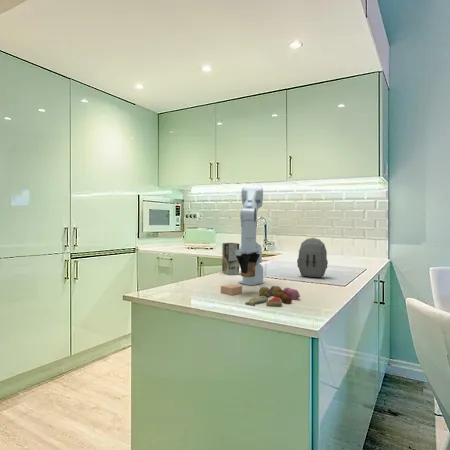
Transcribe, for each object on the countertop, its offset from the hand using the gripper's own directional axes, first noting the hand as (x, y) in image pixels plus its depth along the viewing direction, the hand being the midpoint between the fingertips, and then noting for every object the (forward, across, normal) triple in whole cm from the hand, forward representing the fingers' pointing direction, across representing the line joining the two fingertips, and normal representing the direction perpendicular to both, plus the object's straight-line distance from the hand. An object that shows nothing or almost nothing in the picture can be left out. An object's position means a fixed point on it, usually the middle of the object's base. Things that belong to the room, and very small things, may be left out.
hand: (247, 272), depth 141 cm
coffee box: (+8, -33, -33) cm, 47 cm away
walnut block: (+2, 0, 0) cm, 2 cm away
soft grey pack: (+8, -51, +5) cm, 51 cm away
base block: (+8, +6, -4) cm, 11 cm away
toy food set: (+9, +4, +15) cm, 18 cm away
